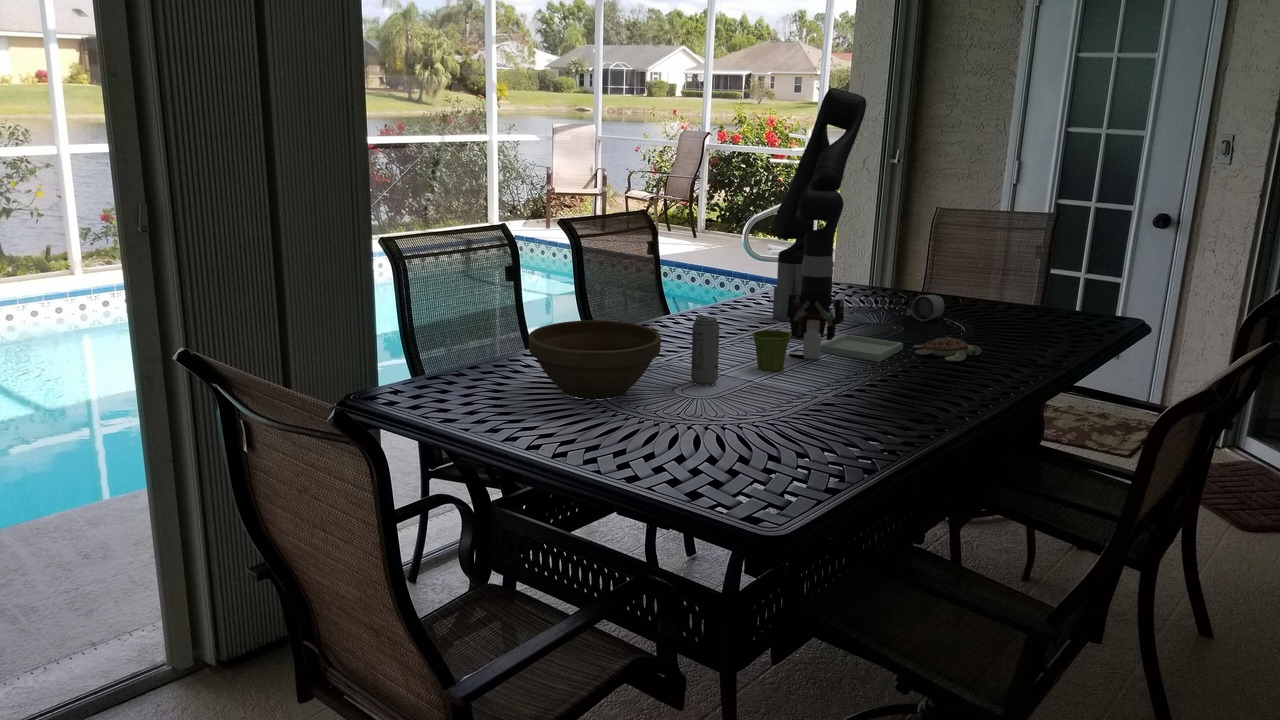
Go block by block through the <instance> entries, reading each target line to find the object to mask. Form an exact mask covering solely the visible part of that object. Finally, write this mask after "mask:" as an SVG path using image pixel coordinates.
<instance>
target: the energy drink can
mask: <svg viewBox="0 0 1280 720" xmlns="http://www.w3.org/2000/svg"><path fill="white" fill-rule="evenodd" d="M691 333H692V339H691V340H692V341H691V342H692V343H691V374H690V375H691V376H690V379H691V380H692V382H693V384H694V383H696V384H699V385H698V386H700V385H711V386H713V385H712V384H714V383H715V384H716V382H717V381H718V379H719V378H718V377H719V354H720V352H719V351H720V325H719V322H718V318H717V317H716V316H715V317H714V316H711V315H709V316H708V315H707V316H706V315H702V316H696V317H695V321H694V322H693V324H692V332H691ZM696 384H695V385H696ZM715 384H714V385H715Z"/></svg>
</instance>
